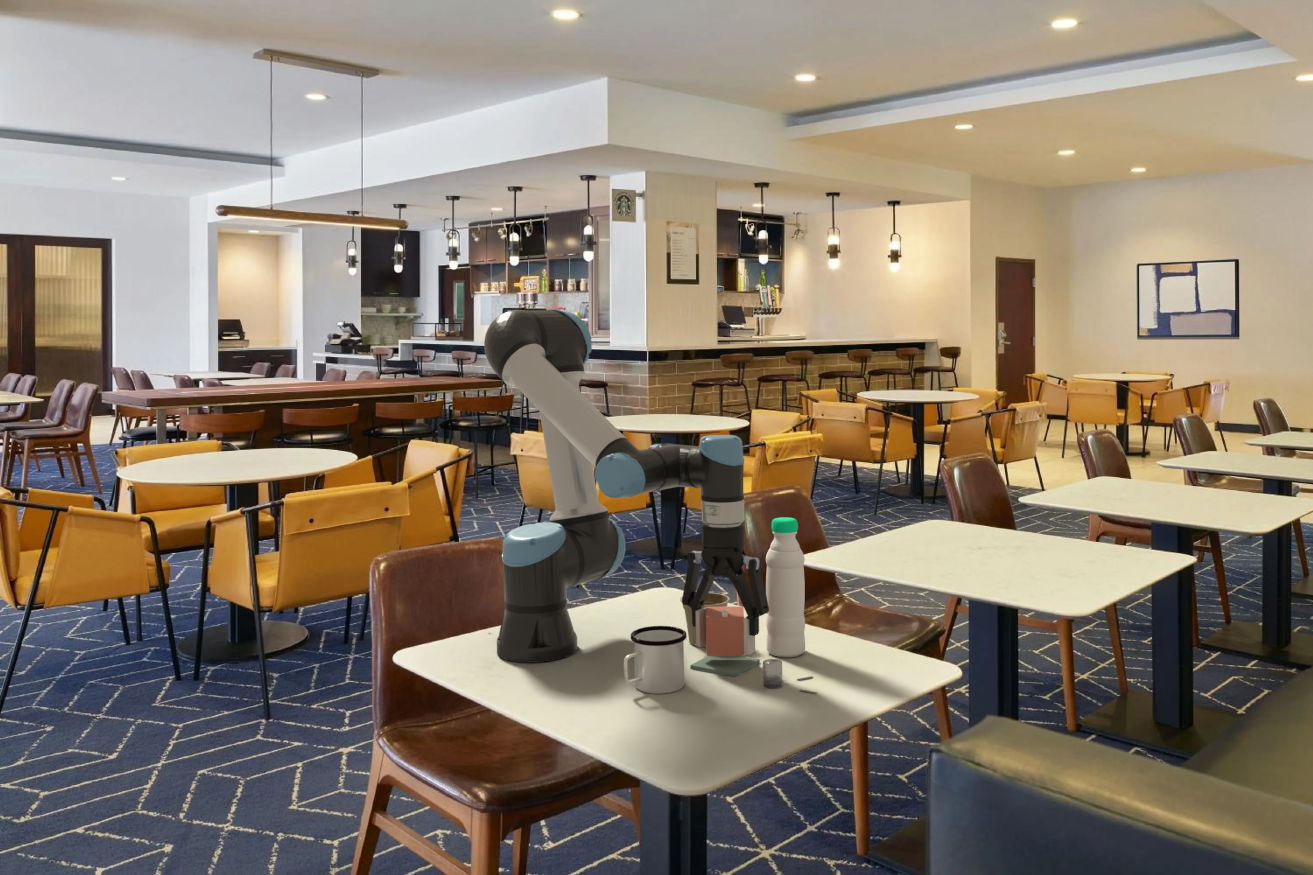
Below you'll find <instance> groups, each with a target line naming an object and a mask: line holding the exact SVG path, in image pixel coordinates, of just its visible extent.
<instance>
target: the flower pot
mask: <svg viewBox="0 0 1313 875" xmlns="http://www.w3.org/2000/svg"><path fill="white" fill-rule="evenodd" d="M682 597H683V595H682V596H681V597H680V602H681V603H682ZM729 602H730V597H729V596H728V595H726V594H722V593H717V592H709V593H708V595H707V597H706V599H705V602H704V604H705V605H704V604H703V605H704V606H702V608H703V607H704V608H706V607H728V603H729ZM682 608H683V610H684V613H685V614H684V615H685V622H686V628H687V637H688V641H689V644H691V645H692V646H696V627H694V626H693V624H692V609H691V607H689V606H688V605H683V604H682ZM701 647H702V648H706V644H705V645H703V646H701ZM701 647H700V648H701Z"/></svg>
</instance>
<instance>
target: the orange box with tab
mask: <svg viewBox="0 0 1313 875" xmlns="http://www.w3.org/2000/svg"><path fill="white" fill-rule="evenodd" d="M744 617H745V609H744V606H727V607H706V647H705V649H706V657H707V656H744V657H745V655H744Z"/></svg>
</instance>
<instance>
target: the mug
mask: <svg viewBox="0 0 1313 875" xmlns="http://www.w3.org/2000/svg"><path fill="white" fill-rule="evenodd" d="M687 637H688V633H687V632H686V630H684V629H682V628H680V627H675V626H668V625H652V626H644V627H640V628H637V629H635V630H633V631H631V633H630V640H631V641H632V642H633V653H630V654H627V655H626V656H625V657H624V659H623V674H624V675H623V676H624V681H625V682H626V683H628V684H634V687H635V688H636V689H637V690H639V691H641V692H643V693H647V694H652V695H653V694H655V695H659V694H660V695H662V694H663V695H664V694H671V693H675V692H677V691H679V690H681V689H682V688H684V686H685V653H684V652H685V651H684V650H685V648H684V647H685V646H684V645H685V644H684V643H685V642H684V641H685V640H686V639H687ZM631 658H634V661H633V662H634V665H633V667H634V678H632V679H629V669H628V667H629V660H630V659H631Z"/></svg>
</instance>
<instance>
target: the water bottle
mask: <svg viewBox="0 0 1313 875" xmlns="http://www.w3.org/2000/svg"><path fill="white" fill-rule="evenodd" d="M798 529H799V523H798V520H797V519H796V518H793V517H786V516H785V517H784V516H783V517H782V516H781V517H776V518H773V519H772V521H771V531H772V534H773V536H774V537H773V540H772V542H771V543H770V546H769V547H770V548H769V549H768V551H767V553H766V556H765V562H766V576H765V592H766V597H767V601H768V606H769V612H768V613H766V614H767V615H766V631H767V634H766V650H767V652H768V653H769V654H770V655H771V656H773V657H774V656H775V657H778V658H795V657H798V656H799V657H800V656H801V655H803V654H804V653H805V651H806V636H805V628H806V619H805V618H806V617H805V614H804V613H805V603H806V602H805V599H806V598H805V594H806V593H805V590H806V588H805V587H806V586H805V583H806V582H805V569H804V568H805V567H804V565H805V562H806V561H805V559H806V558H805V555H804V553H803V550H802V549H801V546H800V544H799V542H798V540H797V538H796V535H797V534H798Z"/></svg>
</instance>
